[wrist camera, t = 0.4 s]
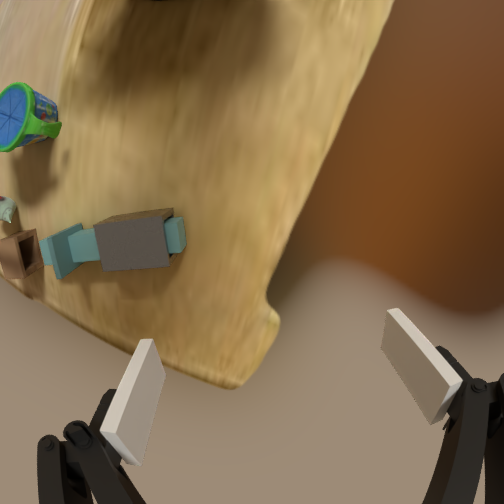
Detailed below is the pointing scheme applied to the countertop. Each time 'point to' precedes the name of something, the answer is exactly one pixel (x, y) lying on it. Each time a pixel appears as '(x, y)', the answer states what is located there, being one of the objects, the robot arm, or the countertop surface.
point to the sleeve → (134, 241)
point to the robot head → (6, 208)
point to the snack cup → (25, 117)
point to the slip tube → (94, 246)
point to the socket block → (20, 254)
